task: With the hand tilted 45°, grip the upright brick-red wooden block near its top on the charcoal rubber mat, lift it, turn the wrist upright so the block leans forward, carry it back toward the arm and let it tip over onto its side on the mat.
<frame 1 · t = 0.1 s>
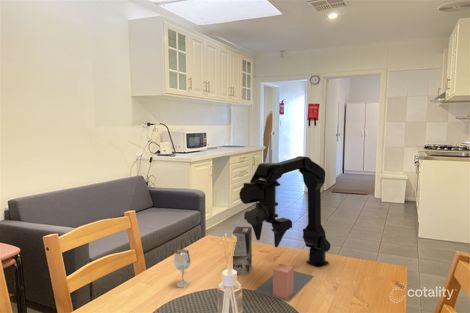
hand: (267, 243, 119), 15 cm above the table, tool pointing down, fingers open, 9 cm apart
red block: (283, 294, 112), resting on mat
coffee box: (242, 270, 132), on the table
mat: (285, 284, 120), on the table
wineglass: (182, 285, 120), on the table
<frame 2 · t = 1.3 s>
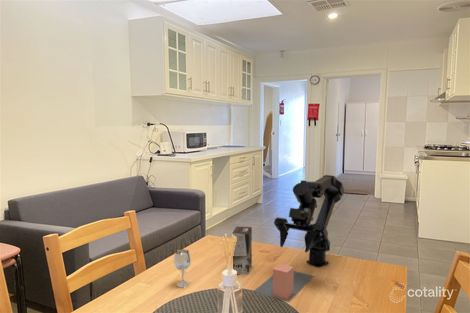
hand: (293, 249, 117), 13 cm above the table, tool tilted 45°, fingers open, 9 cm apart
nothing on the table moved.
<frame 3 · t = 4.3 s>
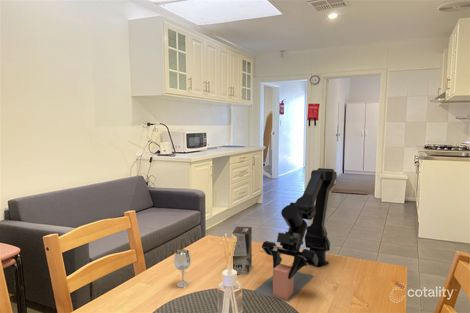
hand: (281, 276, 110), 7 cm above the table, tool tilted 45°, fingers closed on red block, 5 cm apart
red block: (283, 294, 112), resting on mat, touching gripper
everything else where it was.
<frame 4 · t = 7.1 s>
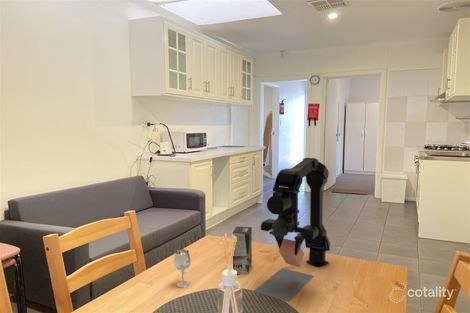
hand: (288, 253, 114), 13 cm above the table, tool pointing down, fingers closed on red block, 5 cm apart
red block: (295, 258, 119), point 9 cm above the table, tilted 45°, touching gripper
everything else where it was.
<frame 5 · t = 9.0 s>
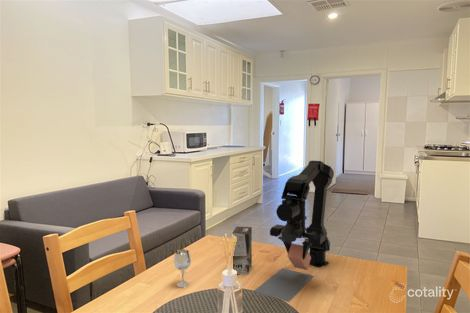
hand: (296, 257, 120), 9 cm above the table, tool pointing down, fingers closed on red block, 5 cm apart
red block: (302, 262, 125), point 6 cm above the table, tilted 45°, touching gripper
everything else where it was.
when the fingers open (7 cm above the table, at t = 10.2 s): red block moves 2 cm and tips over, resting on mat.
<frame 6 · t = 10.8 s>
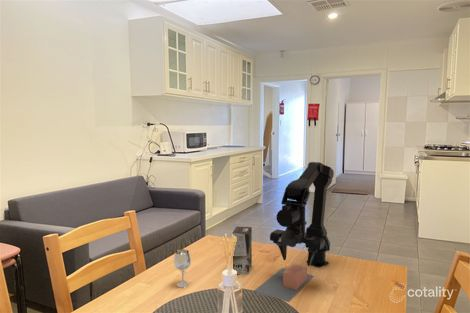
hand: (296, 262, 120), 7 cm above the table, tool pointing down, fingers open, 9 cm apart
red block: (300, 271, 123), point 3 cm above the table, tilted 90°, touching mat
everything else where it was.
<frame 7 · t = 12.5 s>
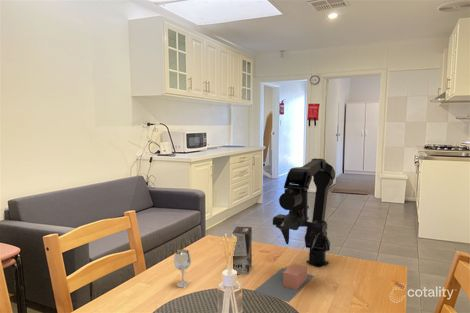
hand: (299, 246, 121), 13 cm above the table, tool pointing down, fingers open, 9 cm apart
nothing on the table moved.
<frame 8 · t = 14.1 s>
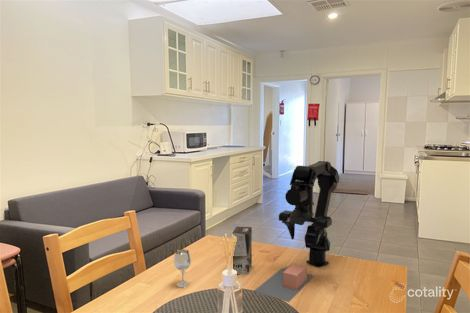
hand: (304, 241, 126), 13 cm above the table, tool pointing down, fingers open, 9 cm apart
nothing on the table moved.
at the end: red block tilted 90°; red block inside the target area on the mat (0.6 cm from its centre), point 2.9 cm above the mat's base; the gripper is holding nothing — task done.
